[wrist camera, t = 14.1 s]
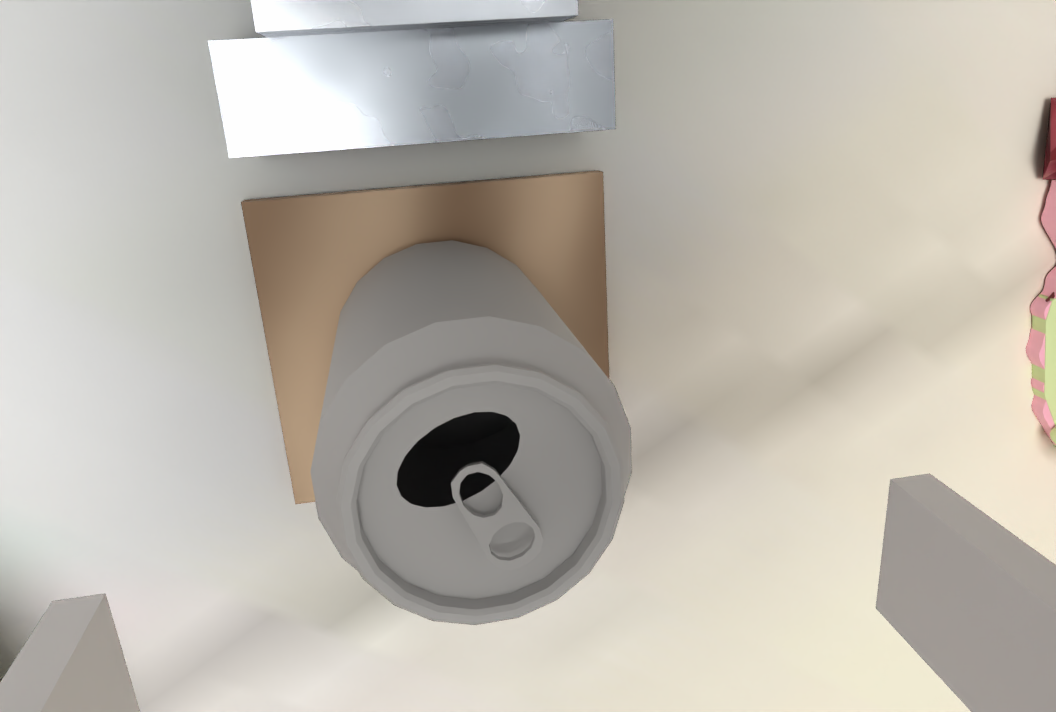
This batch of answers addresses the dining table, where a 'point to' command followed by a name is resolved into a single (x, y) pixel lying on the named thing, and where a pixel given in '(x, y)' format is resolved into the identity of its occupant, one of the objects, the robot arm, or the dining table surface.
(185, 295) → the dining table surface
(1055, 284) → the candy landscape model
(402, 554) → the can
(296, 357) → the mat
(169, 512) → the dining table surface
